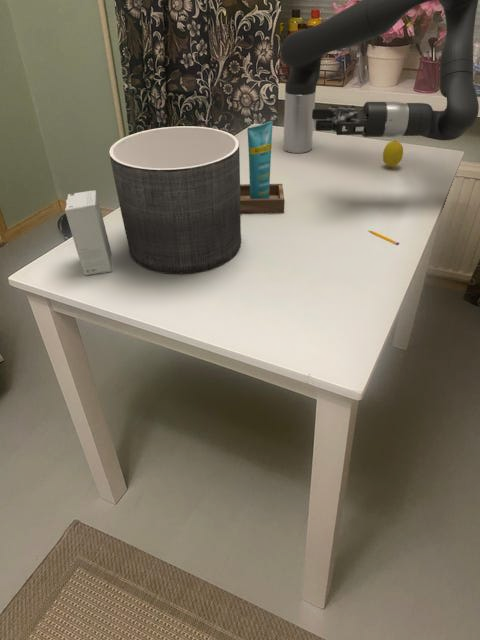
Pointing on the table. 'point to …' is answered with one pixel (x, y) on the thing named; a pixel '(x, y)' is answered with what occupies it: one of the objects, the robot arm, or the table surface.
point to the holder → (262, 200)
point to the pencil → (384, 237)
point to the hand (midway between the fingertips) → (313, 119)
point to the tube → (260, 159)
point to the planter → (179, 197)
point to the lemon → (393, 153)
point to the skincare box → (89, 232)
